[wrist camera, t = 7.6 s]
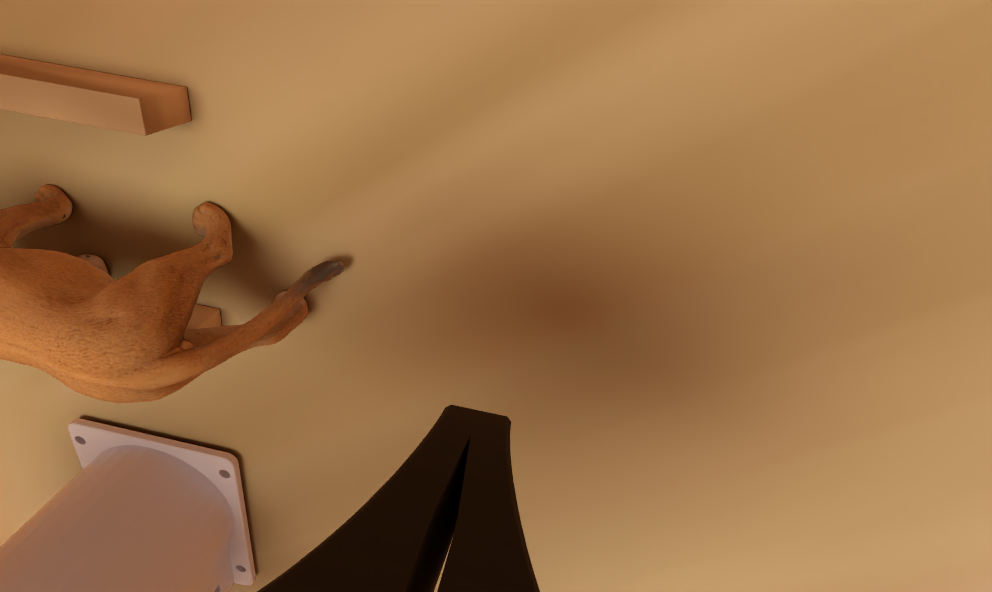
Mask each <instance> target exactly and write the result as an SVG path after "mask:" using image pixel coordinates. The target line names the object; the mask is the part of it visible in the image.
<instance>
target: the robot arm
mask: <svg viewBox="0 0 992 592" xmlns="http://www.w3.org/2000/svg"><path fill="white" fill-rule="evenodd" d="M510 427H511V421H510V420H509V418H508V417H506V416H502V415H497V414H492V413H488V412H483V411H478V410H474V409H469V408H464V407H459V406H455V405H450V406H448V407H446V408H445V409H444V411H443V413H442V414H441V416H440V417H439V419H438V420H437V422H436V423H435V425H434V426H433V428H432V429H431V430H430V432H429V433H428V434H427V436H426V437H425V438H424V439H423V441H422V442H421V443H420V444H419V446H418V447H417V448H416V449H415V451H414V452H413V453H412V454H411V455H410V456H409V458H408V459H407V460H406V461H405V462H404V463H403V464H402V466H401V467H400V468H399V469H398V470H397V471H396V473H395V474H394V475H393V476H392V477H391V478H390V479H389V480H388V481H387V482H386V483H385V484H384V485H383V486H382V487H381V488H380V489H379V490H378V491H377V492H376V493H375V494H374V495H373V496H372V497H371V499H370V500H369V501H368V502H367V503H366V504H365V505H364V506H363V507H361V508H360V509H359V510H358V511H357V512H356V513H355V514H354V515H353V516H352V517H351V518H350V519H349V520H348V521H346V522H345V523H344V524H343V525H342V526H341V527H340V528H339V529H337V530H336V531H335V532H334V533H333V534H332V535H331V536H329V537H328V538H327V539H326V540H325V541H324V542H322V543H321V544H320V545H319V546H317V547H316V548H315V549H314V550H312V551H311V552H310V553H309V554H307V555H306V556H305V557H304V558H302V559H301V560H300V561H299V562H297V563H296V564H295V565H294V566H292V567H291V568H290V569H288V570H287V571H286V572H284V573H283V574H282V575H280V576H279V577H278V578H276V579H275V580H273V581H272V582H270V583H269V584H268V585H266V586H265V587H263V588H262V589H260V590H259V591H257V592H434V589H435V586H436V584H437V581H438V578H439V575H440V572H441V569H442V566H443V564H444V561H445V558H446V555H447V552H448V549H449V546H450V544H451V546H450V550H449V553H448V557H447V560H446V564H445V567H444V570H443V574H442V577H441V581H440V584H439V588H438V591H437V592H540V591H539V588H538V584H537V581H536V578H535V575H534V571H533V568H532V564H531V561H530V557H529V554H528V550H527V546H526V542H525V538H524V534H523V529H522V525H521V521H520V516H519V511H518V506H517V500H516V494H515V488H514V482H513V475H512V466H511V455H510ZM68 430H69V433H70V436H71V439H72V441H73V444H74V447H75V450H76V453H77V455H78V458H79V461H80V464H81V466H82V469H83V470H82V471H81V472H80V473H79V474H78V475H77V476H76V477H75V478H74V479H73V480H72V481H70V482H69V483H68V484H67V485H66V486H65V487H64V488H63V489H62V490H61V491H60V492H59V493H58V494H57V495H55V496H54V497H53V498H52V499H51V500H50V501H49V502H48V503H47V504H46V505H45V506H44V507H43V508H42V509H40V510H39V511H38V512H37V513H36V514H35V515H34V516H33V517H32V518H31V519H30V520H29V521H28V522H27V523H25V524H24V525H23V526H22V527H21V528H20V529H19V530H18V531H17V532H16V533H15V534H14V535H13V536H12V537H10V538H9V539H8V540H7V541H6V542H5V543H4V544H3V545H2V546H1V547H0V592H228V591H229V589H230V588H231V586H232V584H233V583H236V584H240V585H245V586H249V585H251V584H252V583H253V582H254V580H255V578H256V574H255V568H254V561H253V555H252V548H251V542H250V535H249V529H248V522H247V515H246V509H245V502H244V496H243V489H242V483H241V476H240V470H239V463H238V460H237V458H236V457H235V456H234V455H232V454H230V453H228V452H223V451H219V450H215V449H210V448H206V447H202V446H197V445H193V444H189V443H184V442H180V441H176V440H171V439H167V438H163V437H158V436H154V435H150V434H145V433H141V432H137V431H132V430H128V429H124V428H119V427H115V426H111V425H106V424H102V423H98V422H93V421H89V420H85V419H75V420H74V421H72V422H71V423H70V424H69V425H68ZM453 535H454V536H453ZM452 538H453V539H452ZM451 541H452V543H451Z"/></svg>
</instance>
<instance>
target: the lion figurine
mask: <svg viewBox="0 0 992 592" xmlns="http://www.w3.org/2000/svg"><path fill="white" fill-rule="evenodd" d="M71 212H72V203H71V201H70V200H69V198H68V197H67V196H66V195H65V194H64V193H63V192H62V191H61V190H60V189H59V188H58V187H56V186H53V185H44V186H42V187H41V188H40V189H39V190H38V191H37V193H36V198H35V202H34V203H31V204H25V205H18V206H14V207H10V208H7V209H1V210H0V359H2V360H8V361H12V362H16V363H20V364H24V365H30V366H33V367H36V368H38V369H41V370H43V371H45V372H47V373H48V374H50V375H51V376H53V377H54V378H56V379H58V380H59V381H61V382H62V383H64V384H65V385H67V386H68V387H70V388H71V389H73V390H74V391H76V392H79V393H81V394H84V395H86V396H89V397H92V398H96V399H99V400H103V401H108V402H114V403H131V402H144V401H153V400H158V399H161V398H163V397H165V396H167V395H169V394H171V393H173V392H175V391H177V390H179V389H181V388H182V387H184V386H185V385H187V384H188V383H189V382H191V381H192V380H194V379H195V378H197V377H198V376H199V375H201V374H202V373H203V372H205V371H207V370H209V369H211V368H213V367H215V366H217V365H219V364H221V363H223V362H224V361H226V360H227V359H229V358H231V357H232V356H234V355H236V354H238V353H240V352H242V351H245V350H247V349H250V348H253V347H257V346H263V345H271V344H274V343H277V342H279V341H280V340H282V339H283V338H284V337H286V336H287V335H288V334H289V333H290V332H291V331H292V330H293V329H294V328H295V327H297V326H298V325H299V324H300V323H302V321H303V320H304V319H305V318H306V316H307V315H308V307H307V303H306V301H305V300H304V299H303V298H304V296H305V295H306V294H307V293H308V292H309V291H310V290H311V289H313V288H315V287H316V286H317V285H319V284H320V283H322V282H325V281H328V280H331V279H332V278H333V277H335V276H337V275H339V274H340V273H341V272H343V270H344V265H343V263H342V262H341V261H337V262H332V261H326V262H323V263H321V264H319V265H317V266H315V267H313V268H312V269H310V270H308V271H307V272H306V273H305V274H304V275H303V276H302V277H301V278H300V279H299V280H298V281H297V282H296V283H295V284H294V285H293V286H292V287H291V288H290V289H289V290H288V291H283V292H281V293H279V294H278V295H277V296H276V297H275V299H274V300H273V302H272V304H271V306H269V307H268V308H267V309H265V310H264V311H262V312H261V313H260V314H258V315H257V316H256V317H254V318H253V319H251V320H250V321H248V322H247V323H245V324H243V325H233V326H220V327H210V328H200V329H186V327H187V325H188V322H189V320H190V318H191V315H192V312H193V308H194V306H195V304H196V302H197V299H198V296H199V293H200V290H201V287H202V284H203V282H204V280H205V278H206V276H207V275H208V274H209V273H211V272H212V271H213V270H214V269H216V268H217V267H220V266H222V265H224V264H227V263H229V262H230V261H231V260H232V256H233V250H232V238H231V223H230V220H229V218H228V216H227V215H226V214H225V212H224V211H223V210H222V209H220V208H219V207H217V206H216V205H214V204H211V203H207V202H205V203H203V204H201V205H199V206H197V207H196V208H195V209H194V212H193V216H192V223H193V226H194V229H195V231H196V232H197V233H198V234H200V235H202V236H205V237H204V239H203V240H202V241H201V242H200V243H199V244H197V245H195V246H193V247H191V248H187V249H184V250H181V251H177V252H174V253H171V254H168V255H165V256H162V257H159V258H155V259H152V260H149V261H147V262H144V263H143V264H141V265H139V266H138V267H137V268H136V269H135V270H133V271H132V272H131V273H129V274H127V275H125V276H123V277H122V278H120V279H118V280H115V279H114V278H112V277H111V276H110V275H108V270H107V268H106V266H105V263H104V261H103V260H102V259H101V258H100V257H98V256H95V255H89V254H83V255H78V256H77V257H75V256H72V255H69V254H67V253H62V252H58V251H52V250H41V249H21V248H11V246H12V245H13V244H14V243H15V242H16V241H18V240H19V239H20V238H21V237H23V236H24V235H26V234H28V233H30V232H32V231H35V230H38V229H41V228H44V227H48V226H52V225H57V224H59V223H60V222H62V221H64V220H66V219H67V218H68V217H69V216H70V214H71Z"/></svg>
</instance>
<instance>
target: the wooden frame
mask: <svg viewBox="0 0 992 592" xmlns="http://www.w3.org/2000/svg"><path fill="white" fill-rule="evenodd" d="M0 109H5V110H10V111H16V112H21V113H26V114H32V115H37V116H43V117H48V118H53V119H59V120H64V121H70V122H75V123H80V124H86V125H91V126H97V127H102V128H107V129H113V130H118V131H124V132H129V133H135V134H140V135H145V136H146V135H149V134H152V133H155V132H158V131H161V130H164V129H167V128H170V127H173V126H177V125H180V124H183V123H186V122H189V121H191V114H190V108H189V101H188V94H187V88H186V87H183V86H177V85H171V84H166V83H160V82H154V81H149V80H143V79H137V78H132V77H126V76H120V75H115V74H109V73H103V72H98V71H92V70H86V69H81V68H75V67H69V66H64V65H58V64H52V63H47V62H41V61H35V60H30V59H24V58H18V57H13V56H7V55H1V54H0ZM220 326H222V323H221V317H220V310H219V309H216V308H211V307H207V306H202V305H197V304H195V306H194V308H193V312H192V315H191V318H190V320H189V322H188V325H187V327H186V329H200V328H210V327H220Z"/></svg>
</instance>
